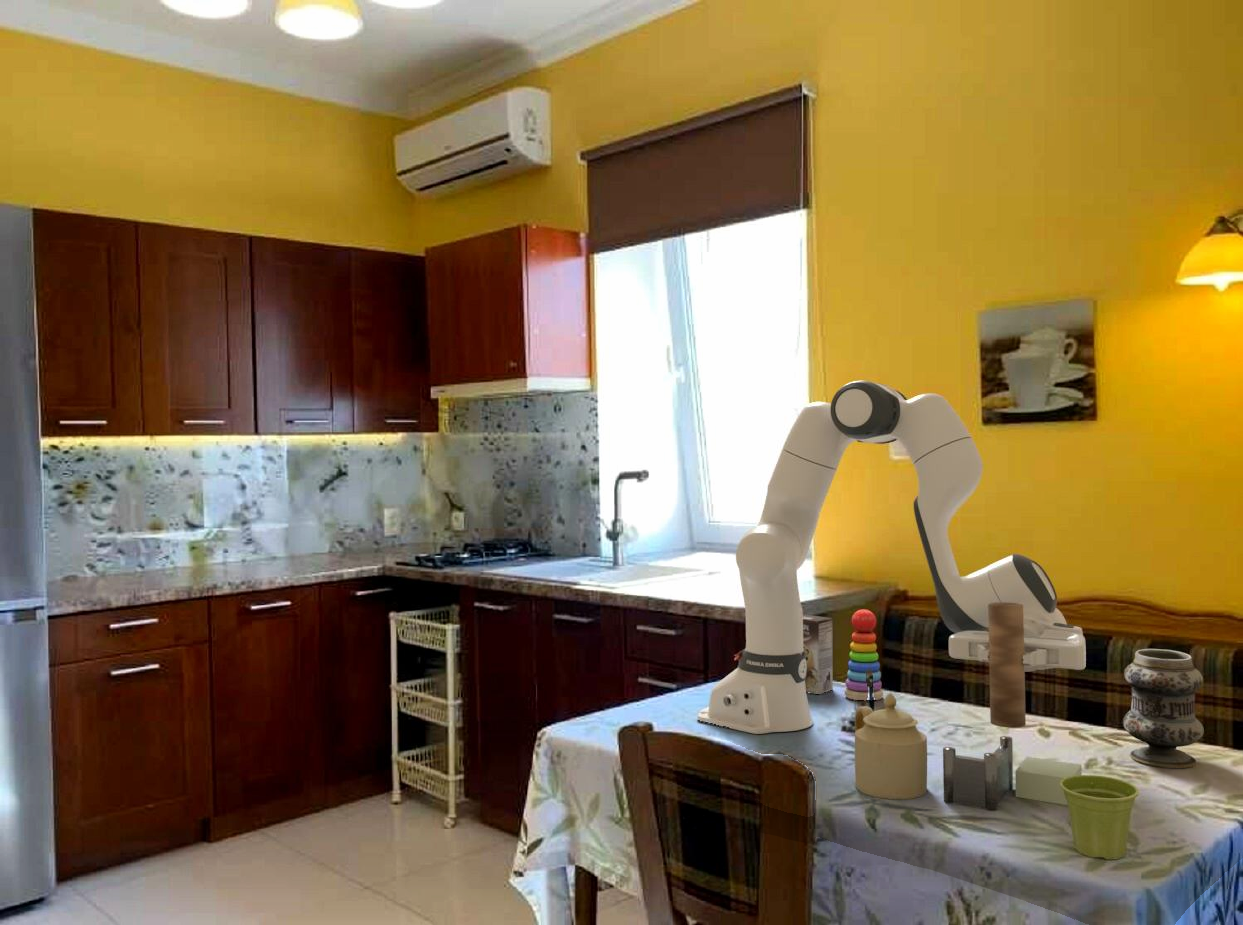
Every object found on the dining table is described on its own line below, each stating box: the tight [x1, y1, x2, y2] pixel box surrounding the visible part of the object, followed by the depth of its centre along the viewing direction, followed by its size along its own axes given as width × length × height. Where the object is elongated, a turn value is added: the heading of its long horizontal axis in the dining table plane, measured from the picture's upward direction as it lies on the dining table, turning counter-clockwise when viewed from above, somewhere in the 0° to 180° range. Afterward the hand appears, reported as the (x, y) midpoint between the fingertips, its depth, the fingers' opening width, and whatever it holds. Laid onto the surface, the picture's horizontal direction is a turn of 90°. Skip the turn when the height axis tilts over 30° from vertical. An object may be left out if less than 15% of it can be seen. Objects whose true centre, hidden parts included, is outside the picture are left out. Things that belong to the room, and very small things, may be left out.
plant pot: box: [1060, 774, 1140, 860], centre depth 135 cm, size 9×9×9 cm
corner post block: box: [942, 735, 1014, 812], centre depth 158 cm, size 8×12×8 cm, turn 147°
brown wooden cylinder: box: [988, 603, 1027, 729], centre depth 156 cm, size 5×5×18 cm
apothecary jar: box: [1122, 648, 1205, 769], centre depth 173 cm, size 12×12×18 cm
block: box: [1015, 756, 1083, 806], centre depth 158 cm, size 8×8×4 cm
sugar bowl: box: [854, 692, 928, 800], centre depth 163 cm, size 15×11×15 cm
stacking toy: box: [844, 609, 884, 702], centre depth 218 cm, size 8×8×19 cm
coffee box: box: [803, 614, 834, 695], centre depth 226 cm, size 9×6×16 cm
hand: (1005, 658), depth 155 cm, fingers closed on brown wooden cylinder, 5 cm apart
